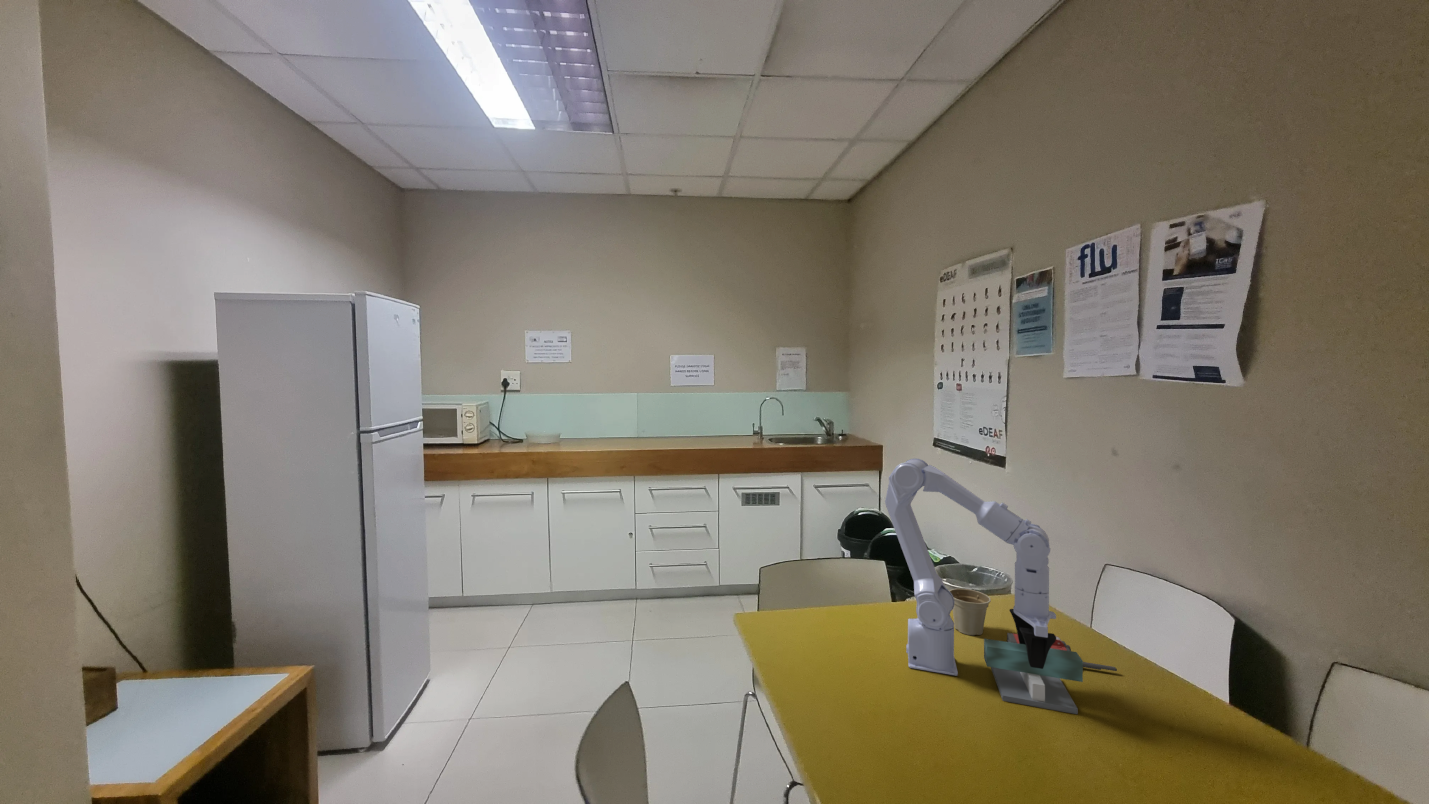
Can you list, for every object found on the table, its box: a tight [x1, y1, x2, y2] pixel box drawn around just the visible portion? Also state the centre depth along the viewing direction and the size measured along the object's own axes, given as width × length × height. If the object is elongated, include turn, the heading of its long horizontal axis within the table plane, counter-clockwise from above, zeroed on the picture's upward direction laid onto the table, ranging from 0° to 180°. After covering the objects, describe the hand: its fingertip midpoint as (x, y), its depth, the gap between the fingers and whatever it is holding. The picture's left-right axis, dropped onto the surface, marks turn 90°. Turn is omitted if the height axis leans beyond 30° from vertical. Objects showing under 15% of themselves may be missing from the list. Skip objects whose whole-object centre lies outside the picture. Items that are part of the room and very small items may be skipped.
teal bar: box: [983, 638, 1084, 683], centre depth 98 cm, size 16×4×4 cm, turn 70°
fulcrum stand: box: [990, 667, 1079, 715], centre depth 98 cm, size 12×12×4 cm
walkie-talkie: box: [1006, 632, 1118, 672], centre depth 110 cm, size 9×4×20 cm
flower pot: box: [948, 588, 992, 636], centre depth 123 cm, size 9×9×9 cm
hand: (1031, 657), depth 98 cm, fingers open, 7 cm apart
